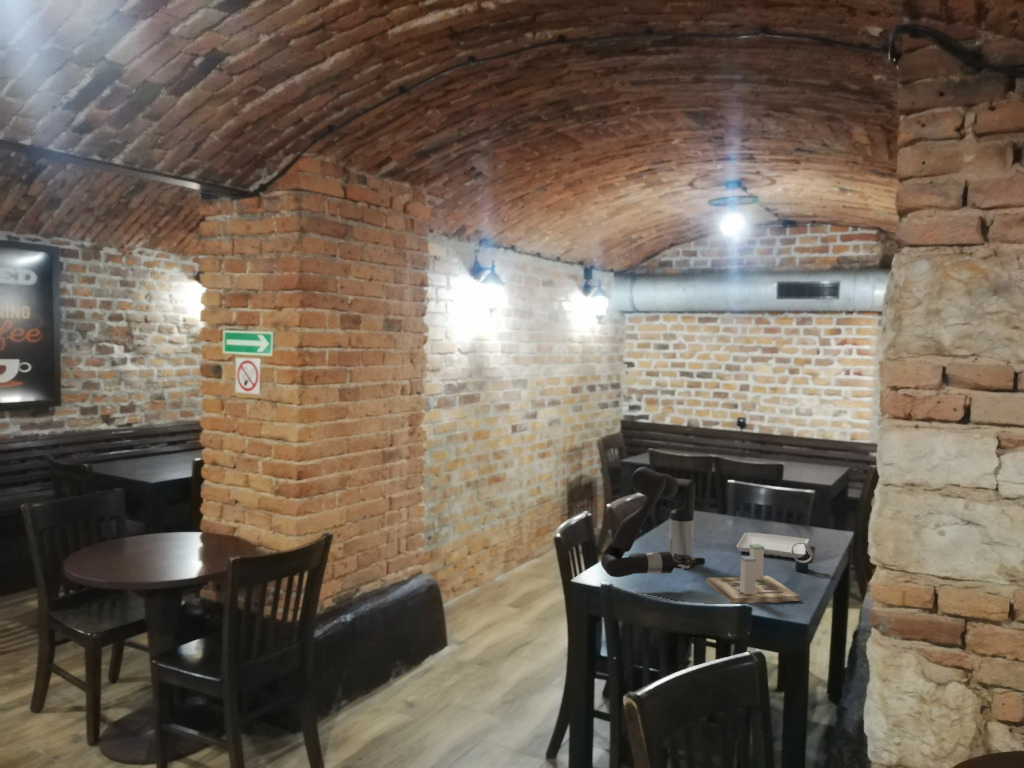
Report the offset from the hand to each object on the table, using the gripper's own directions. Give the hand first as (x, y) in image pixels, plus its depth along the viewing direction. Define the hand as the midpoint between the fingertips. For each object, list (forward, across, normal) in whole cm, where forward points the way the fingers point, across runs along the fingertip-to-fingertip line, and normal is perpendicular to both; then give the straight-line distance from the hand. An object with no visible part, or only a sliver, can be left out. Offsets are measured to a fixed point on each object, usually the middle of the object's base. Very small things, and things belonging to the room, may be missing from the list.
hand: (704, 561), depth 273 cm
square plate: (+50, +44, +11) cm, 67 cm away
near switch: (+10, -14, +7) cm, 19 cm away
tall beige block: (+20, 0, +7) cm, 21 cm away
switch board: (+15, -7, +9) cm, 19 cm away
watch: (+46, +15, +10) cm, 50 cm away
